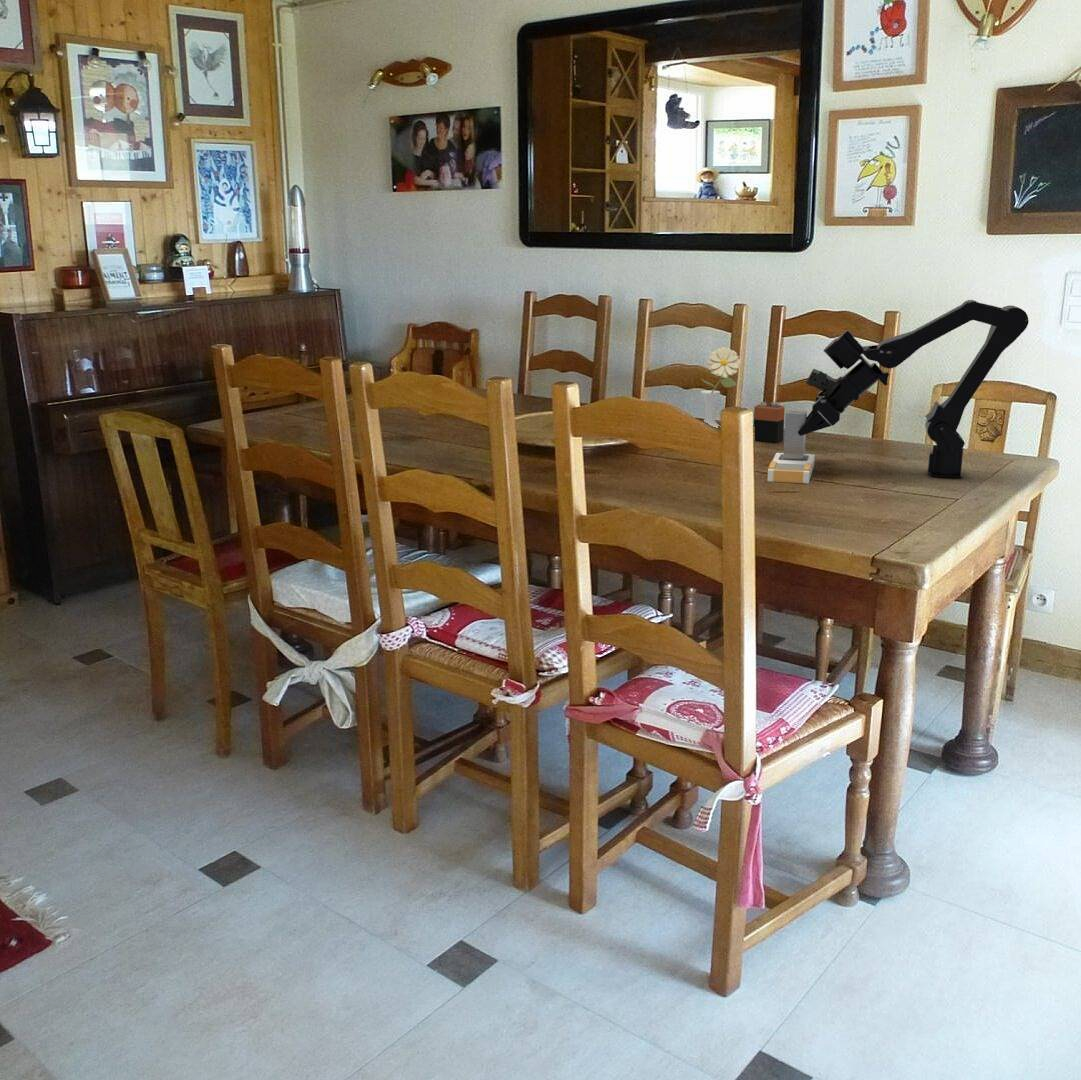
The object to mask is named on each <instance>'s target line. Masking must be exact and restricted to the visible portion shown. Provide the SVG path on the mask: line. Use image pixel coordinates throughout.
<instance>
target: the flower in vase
mask: <svg viewBox="0 0 1081 1080" xmlns="http://www.w3.org/2000/svg"><path fill="white" fill-rule="evenodd" d="M739 358H740V357H739V355H738V354H737V352H736V351H735V350H733V349H731V348H729V347H724V346H722V347H721V348H717V349H716V350H714V351H711V353H710V355H709V358H708V359H707V364H706V365H707V366H708V369H709V371H711V372H710V373H711V374H712V375H715V376H716V377H719V380H718V382H717V383H716V385H714V384H713V383H712V382H709V381H707V380H705V379H703V378H702V377H700V380H701V381H702V382H703V383H704V384H706V385H709V386H711V387H713V388H712V390H701V391H700V394H701V396H702V397H703V401H704V406H705V407H704V408H705V409H704V410H705V413H704V414H705V415H704V420H703V421H704V422H706V423H708V424H709V425H711V426H713V427H716V428H718V426H720V424H718V423H717V421H716V419H715V407H716V403H717V398H718V397H719V396H720V394H721V391H719V390H716V388H717V387H718V386H719V384H721V385H722V387H724V388H727V389H728V388H732V387H735V386H738V384H737V382H736V381H734V380H733V379H732V378H730V376H734V375H735V374H737V373H738V371H739V370H738V369H739V368H740V365H741V359H739Z"/></svg>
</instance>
